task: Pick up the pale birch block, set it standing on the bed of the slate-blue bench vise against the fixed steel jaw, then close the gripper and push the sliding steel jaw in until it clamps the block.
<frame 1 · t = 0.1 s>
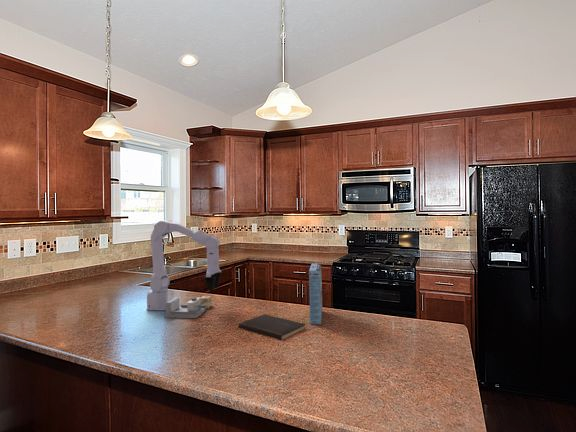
hand: (213, 288, 172), 10 cm above the countertop, fingers open, 7 cm apart
block: (205, 306, 176), on the countertop
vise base: (185, 313, 165), on the countertop
gum box: (316, 317, 157), on the countertop
sliding jaw: (194, 303, 164), point 5 cm above the countertop, slide at 0.0 cm
hardcover book: (272, 329, 143), on the countertop
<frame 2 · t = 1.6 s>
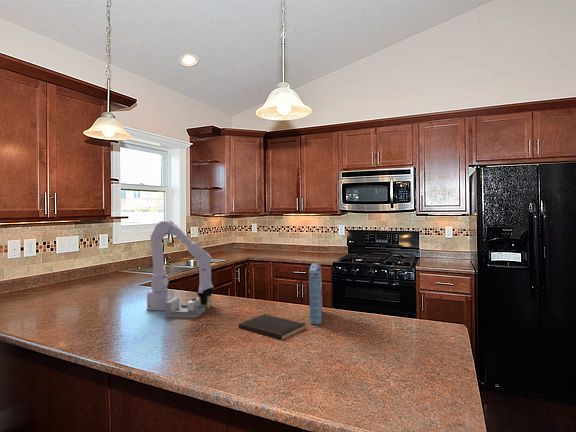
hand: (205, 303, 176), 1 cm above the countertop, fingers closed on block, 5 cm apart
block: (205, 306, 176), on the countertop, touching gripper
everything else where it was.
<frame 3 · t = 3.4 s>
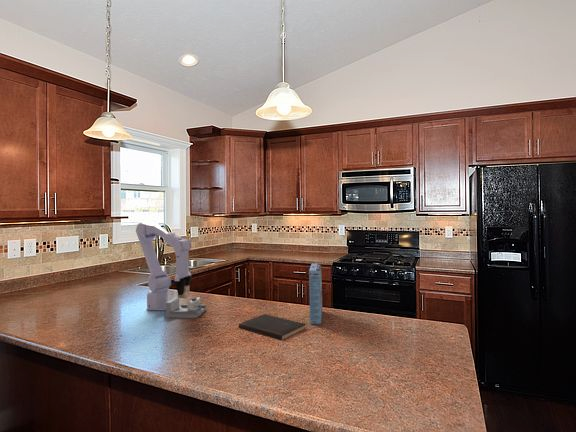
hand: (182, 293, 166), 9 cm above the countertop, fingers closed on block, 5 cm apart
block: (183, 296, 166), point 8 cm above the countertop, touching gripper
everything else where it was.
when the fingers open (4 cm above the countertop, at t = 5.1 s): block stays where it is, resting on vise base.
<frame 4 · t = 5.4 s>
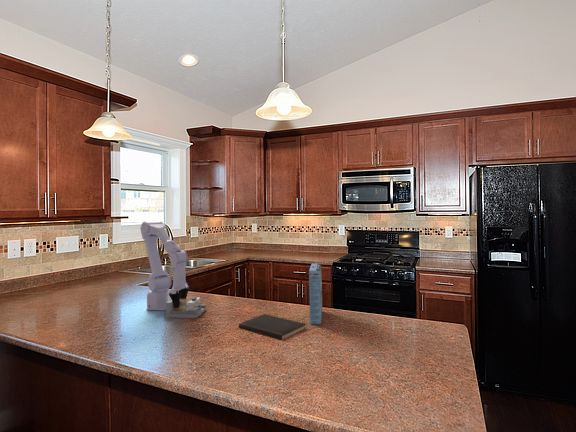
hand: (179, 305, 165), 4 cm above the countertop, fingers open, 7 cm apart
block: (180, 310, 165), point 1 cm above the countertop, touching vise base
everything else where it was.
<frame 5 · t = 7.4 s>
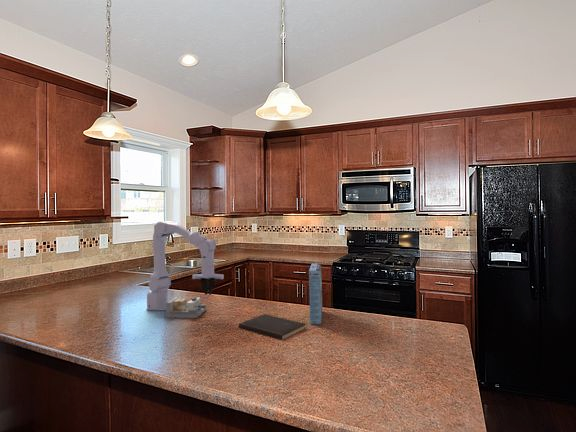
hand: (208, 294, 163), 9 cm above the countertop, fingers closed
nothing on the countertop moved.
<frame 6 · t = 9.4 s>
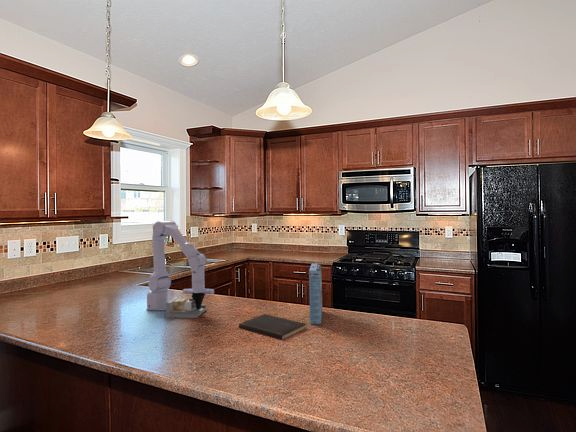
hand: (198, 308, 164), 2 cm above the countertop, fingers closed
sliding jaw: (191, 303, 164), point 5 cm above the countertop, slide at 1.2 cm, touching gripper
everything else where it was.
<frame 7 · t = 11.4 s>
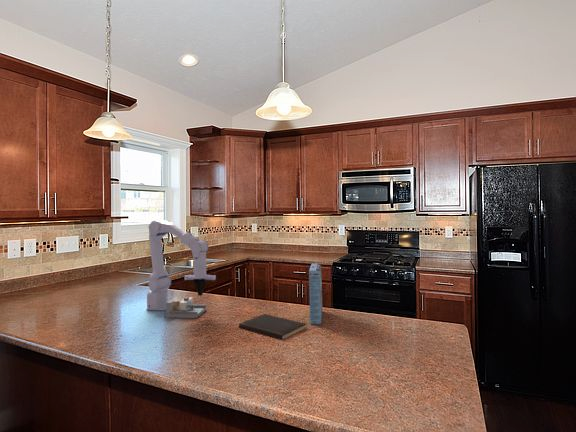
hand: (200, 295, 164), 9 cm above the countertop, fingers closed
block: (179, 310, 165), point 1 cm above the countertop, touching sliding jaw, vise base
sliding jaw: (186, 303, 164), point 5 cm above the countertop, slide at 3.7 cm, touching block
everything else where it was.
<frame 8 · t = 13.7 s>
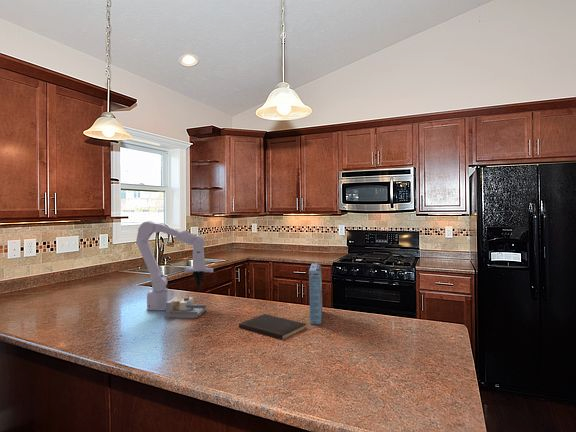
hand: (199, 286, 178), 10 cm above the countertop, fingers closed
nothing on the countertop moved.
at the end: sliding jaw slide at 3.7 cm; block 0.2 cm from the target spot on the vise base, point 1.5 cm above the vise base's base; block tilted 0° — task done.
